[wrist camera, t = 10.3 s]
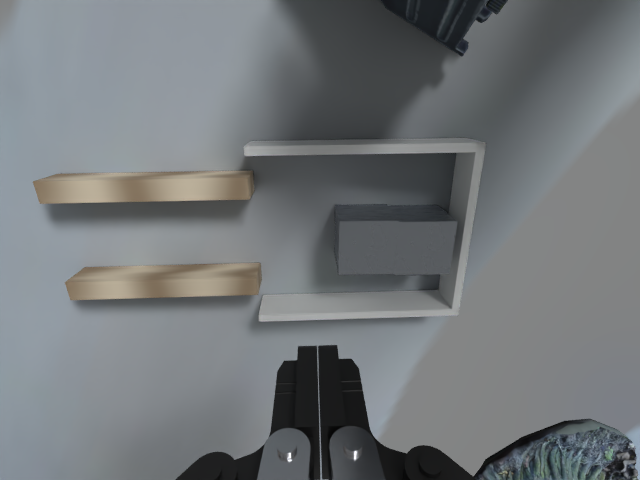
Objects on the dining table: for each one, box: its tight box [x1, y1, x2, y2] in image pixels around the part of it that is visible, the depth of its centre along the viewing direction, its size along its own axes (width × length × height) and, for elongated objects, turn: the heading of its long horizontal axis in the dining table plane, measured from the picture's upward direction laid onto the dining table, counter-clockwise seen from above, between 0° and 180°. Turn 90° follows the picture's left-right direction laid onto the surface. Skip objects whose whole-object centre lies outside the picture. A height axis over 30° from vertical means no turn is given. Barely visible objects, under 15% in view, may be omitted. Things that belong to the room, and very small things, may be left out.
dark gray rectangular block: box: [334, 204, 399, 275], centre depth 26 cm, size 4×4×4 cm
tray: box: [244, 138, 486, 322], centre depth 26 cm, size 16×13×3 cm
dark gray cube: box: [388, 205, 458, 275], centre depth 26 cm, size 4×4×4 cm
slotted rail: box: [33, 171, 262, 300], centre depth 26 cm, size 14×9×2 cm, turn 91°
